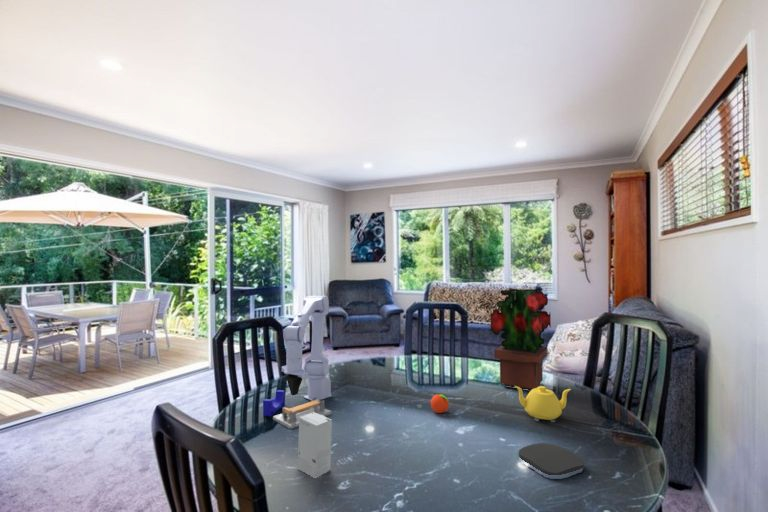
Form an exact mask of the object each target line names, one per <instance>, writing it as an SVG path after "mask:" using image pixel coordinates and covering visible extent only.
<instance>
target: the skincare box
mask: <svg viewBox="0 0 768 512" xmlns="http://www.w3.org/2000/svg"><path fill="white" fill-rule="evenodd" d="M332 431H333V420H332V419H330V418H329V417H327V416H323V415H320V414H318V413H315V412H313V413H310V414H307V415H304V416H301V417H299V426H298V439H297V440H298V443H297V445H298V446H297V464H296V465H297V467H296V468H297V470H299V471H301V472H303V473H304V472H305V473H304V474H307V476H309V475H310V477H311V478H312V477H313V479H314V478H316V479H318V478H320V477H322V476H323V475H322V474H324V473H326V472H327V471H329V470H330V471H331V463H332V461H331V460H332V459H331V458H332ZM330 471H329V472H330ZM326 474H327V473H326ZM321 475H322V476H321ZM324 475H325V474H324ZM319 476H320V477H319ZM317 477H318V478H317Z"/></svg>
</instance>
